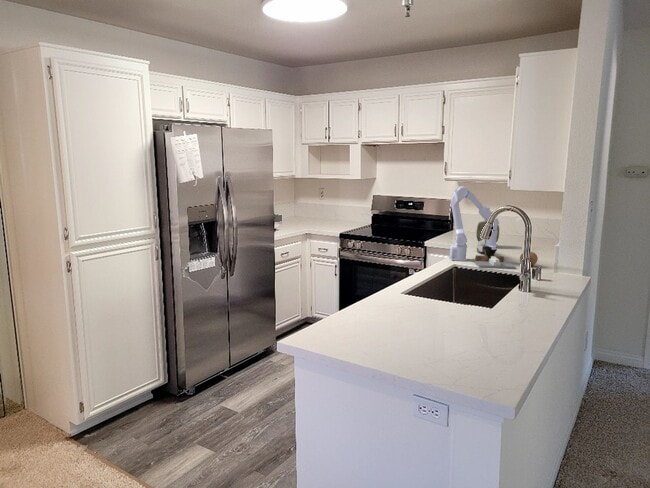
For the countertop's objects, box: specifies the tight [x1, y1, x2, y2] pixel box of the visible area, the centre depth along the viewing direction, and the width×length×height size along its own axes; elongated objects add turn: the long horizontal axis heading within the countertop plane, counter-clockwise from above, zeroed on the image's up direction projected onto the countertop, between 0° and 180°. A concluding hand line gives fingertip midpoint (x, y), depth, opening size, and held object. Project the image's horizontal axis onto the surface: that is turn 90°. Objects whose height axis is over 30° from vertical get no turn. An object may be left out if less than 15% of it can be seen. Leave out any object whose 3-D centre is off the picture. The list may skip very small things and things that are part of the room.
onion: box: [519, 251, 539, 267], centre depth 272 cm, size 10×9×10 cm
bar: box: [474, 254, 505, 262], centre depth 282 cm, size 16×3×4 cm, turn 86°
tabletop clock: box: [475, 211, 500, 243], centre depth 330 cm, size 14×9×25 cm, turn 76°
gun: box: [476, 239, 487, 256], centre depth 300 cm, size 5×27×15 cm, turn 173°
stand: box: [473, 255, 517, 270], centre depth 270 cm, size 20×12×5 cm, turn 85°
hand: (489, 259), depth 282 cm, fingers closed on bar, 3 cm apart
